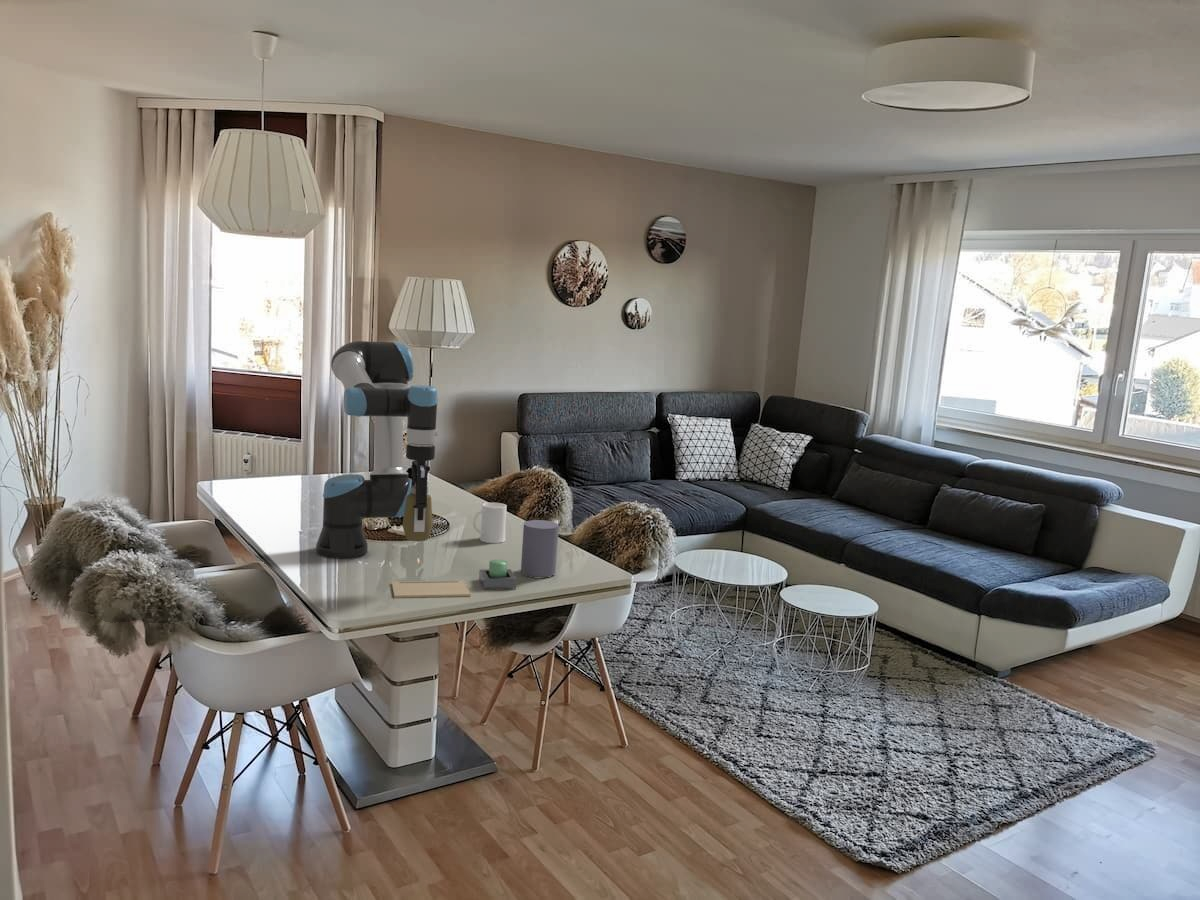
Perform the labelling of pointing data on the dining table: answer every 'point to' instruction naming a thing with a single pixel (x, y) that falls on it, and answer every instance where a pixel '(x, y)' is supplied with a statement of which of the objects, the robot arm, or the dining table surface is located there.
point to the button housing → (497, 580)
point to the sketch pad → (430, 589)
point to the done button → (497, 568)
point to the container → (539, 548)
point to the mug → (492, 522)
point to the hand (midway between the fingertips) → (417, 527)
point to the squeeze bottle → (409, 517)
